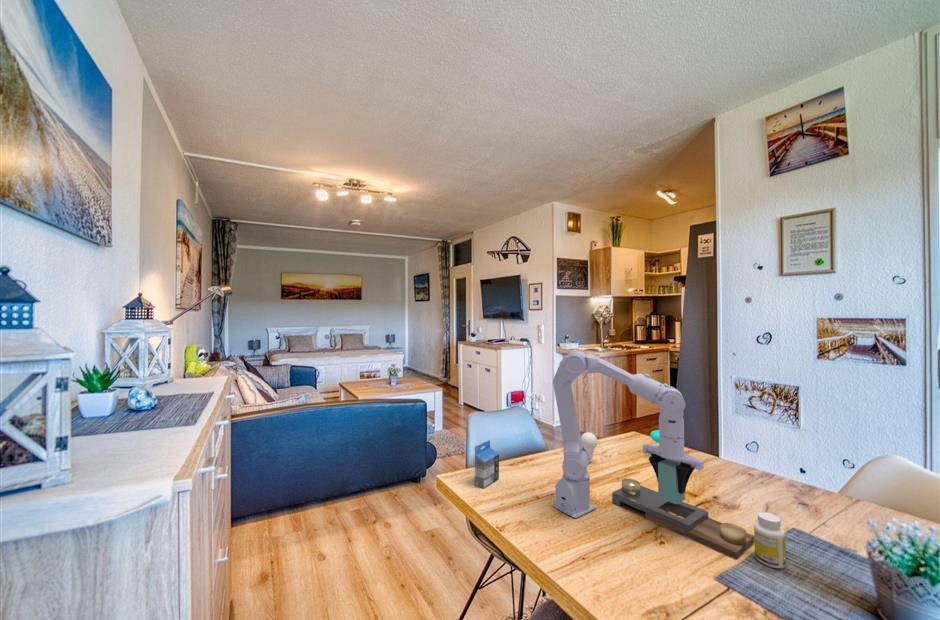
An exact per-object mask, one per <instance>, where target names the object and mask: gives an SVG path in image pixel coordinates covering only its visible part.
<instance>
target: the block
mask: <svg viewBox="0 0 940 620" xmlns="http://www.w3.org/2000/svg"><path fill="white" fill-rule="evenodd" d="M678 465H680V463H678V462H675V461H672V460H668V459H665V460H662V461H660V462H658V481H657V487H658V489H657V492H658V497H659V498H661V499H664V500H666V501H669V502H671V503H674V504H678V503H680V502H681V501H682V502H684V501H685V499H686V491H685V492H684V493H682V494H680V493H679V491H678V475H677V471H676V466H678Z"/></svg>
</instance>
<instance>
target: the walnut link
mask: <svg viewBox="0 0 940 620" xmlns="http://www.w3.org/2000/svg"><path fill="white" fill-rule="evenodd" d="M664 511H666V512H669V513H672V514H673V513H674V515H678V516H679V517H682V518H684V519H685V518H686V517H688V516H689V515H691V514H689V513H686V512H684V511H681V510H679V509H677V508H674V507H672V506H669V507H667V508H665V509H664ZM645 519H647V520H649V521H651V522H654V523H655V524H658V525H660V526H662V527H665V528H667V529H669V530H671V531H673V532H675V533H678V534H679V535H682V536H683V537H686V538H688V539H691V540H693V541H695V542H697V543H699V544H702V545H703V546H705V547H708V548H710V549H713V550H714V551H717V552H719V553H721V554H723V555H724V556H725V555H726V556H727V557H730V558H732V559H734V560H738V559H739V558H740V557H741V556H742V555H744V553H745V552H747V550H748V549H750V547H751V546H752V545H753V544H754V535H753V534H751V533H748V532H747V531H746V529H745V528H743V527H742V526H740V525H738V524H735V523H732V522H721V521H718V520H715V519H714V518H711V517H708V518H707V519H706V520H704V521H703V522H702V523H700V524H699V525H697V526H696V527H695V528H693V529H692V530H691V531H689V532H688V531H686V530H684V529H682V528H680V527H677V526H675V525H673V524H671V523H668V522H666V521H664V520H662V519H659V518H657V517H655V516H653V515H650V514H648V513H646V512H645Z"/></svg>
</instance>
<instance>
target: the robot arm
mask: <svg viewBox="0 0 940 620" xmlns="http://www.w3.org/2000/svg"><path fill="white" fill-rule="evenodd" d="M586 370H587V372H586V373H587V374H595V373H596V374H598V373H599V374H601V375H602V376H603V375H604V376H606V377H609V378H611V379H612V380H614V381H617V382H620V383H621V384H624V385H626V386H627V387H628V389H629V392H630V393H631V394H633V395H635V396H637V397H640V398H641V399H643V400H646V401H647V402H649V403H651V404H654V405H659V416H658V430H659V443H658V446H657V445H656V446H655V445H652V444H648V443H645V444H642V453H644V454H650V457H648V461H649V463H650V465H651V466H652V468H653V471H654V473H655V476H656V477H655V478H656V480H657V482H658V462H660V461H662V460H665V459H668V460H672V461H675V462H678V463H680V465H678V466H676V471H677V475H678V491H679V493H680V494H682V493H684V492H685V493H686V490H687V489H686V488H687V485H688V482H689V481H690V480H689V479H690V477H691V475H692V473H693V472H694V470H695V469H696V470H697V471H702V470H704V469H705V463H704V460H702V459H699V458H696V457H694V456H692V455H690V454H688V453H685V419H684V410H685V408H686V401H685V399H684V396H683V395H682V393H681V391H679V390H678V389H676V388H675V387H674V386H670V385H669V384H668V383H665V382H664V383H661V382H659V381H658V380H655V379H653V378H651V375H650V374H648V373H647V372H646V373H644V374H643V373H641V372H640V373H636V374H632V373H630V372H628V371H627V370H624V369H622V368H620V367H619V366H617V365H616V364H615V365H614V364H612V363H611V362H608V361H607V360H605V359H603V358H601V357H600V356H596V355H594V354H591V353H587V352H585V351H584V350H580V349H578V350H575V351H572V352H570V353H568V354H567V355H565V357H564V358H562V359H561V360H560V362H559V364H558V367H557V370H556V371H555V374H554V376H553V379H552V385H553V389H554V390H553V391H554V396H555V401H556V405H557V406H556V407H557V414H558V418H559V423H560V429H561V434H562V439H563V451H562V452H563V453H562V454H563V461H562V468H561V469H562V471H563V472H562V473H563V475H562V477H561V478H560V479H559V480H558V481H557V482H556V484H555V503H554V504H552V506H553V507H554V508H556V509H557V510H559V511H561V512H562V513H564V514H566V515H568V516H569V517H572V518H573V519H577V518H580V517H581V516H583V515H585V514H587V513H590V512H591V511H593V510H595V509H597V506H596V505H595V504H593V503H590V502H591V501H590V499H591V498H590V497H591V496H590V495H591V493H590V492H591V488H590V487H591V485H590V483H591V482H590V480H591V478H590V477H591V476H590V473H589V471H588V466H589V465H590V463H591V462H590V456H589V454H588V452H587V451H586V449H585V447H584V443H583V441H582V439H581V436H582V435H581V430H580V426H579V420H578V415H577V411H576V404H575V400H574V398H575V397H574V393H573V387H572V384H573V383H574V381H575V380H576V379H577V377H579V376H580V375H582V374H583V373H584V372H585V371H586ZM589 462H590V463H589Z"/></svg>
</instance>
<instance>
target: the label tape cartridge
mask: <svg viewBox="0 0 940 620" xmlns="http://www.w3.org/2000/svg"><path fill="white" fill-rule="evenodd" d="M498 480H500V454H499V453H498V452H496V451H495V450H494V449H493V448H492V447H491V440H490V439H489V440H486V441H485V442H483V443H481V444H478V445H476V446H474V486H475V487H477V488H479V489H480V488H481V489H486V488H487V487H489V486H490V485H492V484H493V483H495V482H496V481H498Z"/></svg>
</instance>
